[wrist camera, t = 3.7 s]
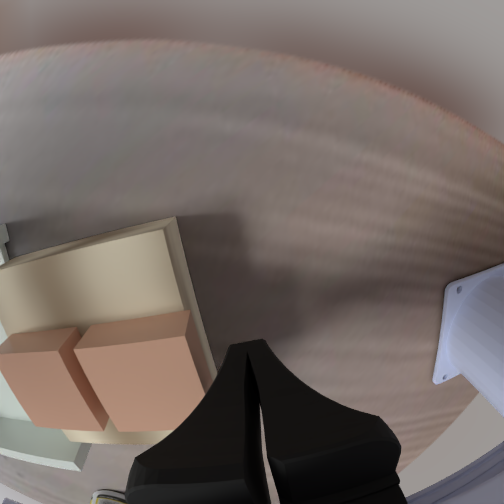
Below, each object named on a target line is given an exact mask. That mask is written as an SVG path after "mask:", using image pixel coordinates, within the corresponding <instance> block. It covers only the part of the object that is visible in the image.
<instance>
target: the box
mask: <svg viewBox="0 0 504 504" xmlns="http://www.w3.org/2000/svg"><path fill="white" fill-rule="evenodd" d="M8 241H10V240H9V236H8V232H7V228H6V224H3V225H0V265H2V264H4V263H6V262H7V261H9V257H8V254H7V250H6V247H5V243H6V242H8ZM7 338H8V337H7V335H6V332H5V330H4V328H3V326H2V323H1V321H0V345H1V344H2V343H3V342H4V341H5V340H6V339H7ZM91 444H92V443H83V442H72V441H69V439H68V438H67V437H66V435H65V434H64V432H63V431H62V430H61V429H54V428H45V427H36V426H35V425H34V424H33V422H32V421H31V419H30V418H29V416H28V415H27V414H26V412H25V411H24V409H23V408H22V406H21V405H20V403H19V401H18V400H17V398H16V397H15V395H14V393H13V392H12V390H11V389H10V387H9V385H8V383H7V382H6V380H5V378H4V377H3V375H2V373H1V371H0V454H1V455H5V456H8V457H12V458H16V459H20V460H23V461H28V462H32V463H36V464H41V465H46V466H51V467H56V468H62V469H68V470H75V471H82V469H83V466H84V463H85V460H86V458H87V455H88V452H89V450H90V447H91Z"/></svg>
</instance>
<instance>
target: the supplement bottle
mask: <svg viewBox="0 0 504 504" xmlns="http://www.w3.org/2000/svg"><path fill="white" fill-rule="evenodd" d="M90 504H128V503H127V502H126V500H125V495H124V494H121V493H118V492H114V491H108V490H100V491H96V492H95V493H94V494H93V496H92V499H91V502H90Z"/></svg>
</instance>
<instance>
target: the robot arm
mask: <svg viewBox="0 0 504 504" xmlns="http://www.w3.org/2000/svg"><path fill="white" fill-rule="evenodd" d="M457 288H458V290H457ZM459 374H462V375H463V376H464V377H465V378H466V379H467V380H468V381H469V382H470V383H471V384H472V385H473V386H474V387H475V388H476V389H477V390H478V391H479V392H480V393H481V394H482V395H483V396H484V397H485V398H486V399H487V400H488V401H489V402H490V403H491V405H492V406H493V407H494V408H495V409H496V410H497V411H498V412H499V413H500V414H501V415H502V416H503V417H504V263H503V264H500V265H497V266H495V267H492V268H490V269H487V270H484V271H482V272H479V273H476V274H473V275H471V276H468V277H465V278H462V279H459V280H456V281H454V282H451V283H449V284H448V285H447V287H446V289H445V294H444V306H443V315H442V324H441V332H440V339H439V346H438V352H437V358H436V364H435V369H434V374H433V379H432V381H433V382H434V383H435V384H440V383H442V382H444V381H446V380H448V379H451V378H453V377H455V376H457V375H459ZM259 403H260V404H259ZM260 406H261V410H262V416H263V424H264V432H265V442H266V451H267V458H268V462H269V465H270V469H271V472H272V476H273V479H274V482H275V486H276V489H277V493H278V496H279V501H280V504H504V441H503V442H502V443H500V444H499V445H498V446H496V447H495V448H493V449H492V450H490V451H489V452H488V453H486V454H484V455H483V456H481V457H480V458H479V459H477V460H475V461H474V462H472V463H471V464H469V465H467V466H466V467H464V468H462V469H461V470H459V471H457V472H455V473H454V474H452V475H450V476H448V477H446V478H445V479H443V480H441V481H439V482H437V483H435V484H433V485H431V486H429V487H427V488H425V489H423V490H421V491H419V492H417V493H415V494H412V495H410V496H408V497H406V498H405V497H404V494H403V492H402V490H401V488H400V487H399V483H400V479H399V477H398V475H397V473H396V471H395V470H396V467H397V464H398V461H399V457H400V454H401V445H400V443H399V441H398V439H397V437H396V436H395V434H394V433H393V431H392V430H391V429H390V428H389V427H388V425H387V424H386V423H385V422H384V421H383V420H382V419H381V418H380V417H379V416H376V415H372V414H368V413H364V412H361V411H357V410H354V409H351V408H349V407H346V406H343V405H341V404H339V403H337V402H335V401H333V400H331V399H329V398H327V397H325V396H323V395H321V394H320V393H318V392H317V391H315V390H313V389H312V388H310V387H309V386H308V385H306V384H305V383H303V382H302V381H301V380H300V379H298V378H297V377H296V376H295V375H294V374H293V373H292V372H290V371H289V370H288V369H287V368H286V367H285V366H284V365H283V363H282V362H281V361H280V360H279V359H278V358H277V357H276V356H275V354H274V353H273V352H272V351H271V349H270V348H269V346H268V344H267V343H266V341H265V340H264V339H258V340H253V341H248V342H243V343H237V344H232V345H230V346H229V348H228V351H227V354H226V356H225V359H224V361H223V363H222V366H221V368H220V370H219V372H218V374H217V376H216V378H215V379H214V381H213V383H212V384H211V386H210V388H209V389H208V391H207V393H206V394H205V396H204V397H203V399H202V400H201V401H200V403H199V404H198V405H197V407H196V408H195V409H194V410H193V411H192V413H191V414H190V415H189V416H188V417H187V418H186V419H185V420H184V421H183V422H182V423H181V424H180V425H179V426H178V427H177V428H176V429H175V430H174V431H173V432H171V433H170V434H169V435H168V436H166V437H165V438H164V439H163V440H161V441H160V442H159V443H157V444H156V445H154V446H153V447H151V448H150V449H148V450H147V451H145V452H143V453H142V454H140V455H138V456H137V457H135V459H134V462H133V465H132V467H131V470H130V473H129V477H128V482H127V486H126V491H125V500H126V502H127V503H128V504H271V500H270V495H269V489H268V484H267V478H266V473H265V467H264V461H263V454H262V441H261V422H260ZM2 504H21V503H19V502H16V501H13V500H10V499H8V498H5V499H4V501H3V503H2Z"/></svg>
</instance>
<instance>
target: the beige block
mask: <svg viewBox="0 0 504 504" xmlns="http://www.w3.org/2000/svg"><path fill="white" fill-rule="evenodd" d="M190 309H191V313H192V316H193V320H194V323H195V327H196V330H197V333H198V337H199V340H200V343H201V346H202V350H203V353H204V356H205V359H206V362H207V365H208V369H209V372H210V375H211V378H212V381H214V379H215V378H216V376H217V374H218V373H217V370H216V367H215V363H214V360H213V357H212V353H211V350H210V347H209V343H208V340H207V336H206V333H205V329H204V326H203V322H202V319H201V315H200V312H199V308H198V304H197V301H196V297H195V293H194V289H193V286H192V282H191V278H190V274H189V270H188V266H187V262H186V258H185V254H184V250H183V245H182V241H181V237H180V233H179V228H178V224H177V220H176V216H175V217H171V218H166V219H162V220H157V221H153V222H149V223H144V224H140V225H136V226H132V227H127V228H123V229H119V230H115V231H111V232H107V233H103V234H99V235H95V236H91V237H87V238H83V239H80V240H76V241H72V242H68V243H65V244H61V245H57V246H54V247H50V248H46V249H43V250H39V251H36V252H32V253H29V254H25V255H22V256H19V257H15V258H13V259H11V260H9V261H7V262H6V263H4V264H2V265H0V321H1V323H2V326H3V328H4V330H5V332H6V335H7V337H9V336H10V335H11V334H19V333H28V332H38V331H46V330H55V329H63V328H71V327H77V328H78V331H79V333H80V335H81V338H82V337H83V335H84V334H85V333H86V331H87V330H88V329H89V327H90V326H91V325H94V324H101V323H109V322H116V321H122V320H129V319H136V318H142V317H148V316H155V315H161V314H167V313H173V312H179V311H185V310H190ZM61 430H62V431H63V432H64V434H65V435H66V437H67V438H68V439H69V441H72V442H83V443H99V444H157V443H159V442H160V441H161V440H163V439H164V438H165V437H166V436H168V435H169V434H170V433H171V432H173V431H174V430H164V431H141V432H119V431H118V430H117V428H116V427H115V425H114V423H113V422H112V420H111V419H110V417H109V419H108V422H107V425H106V427H105V430H104V432H102V431H79V430H65V429H61Z"/></svg>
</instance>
